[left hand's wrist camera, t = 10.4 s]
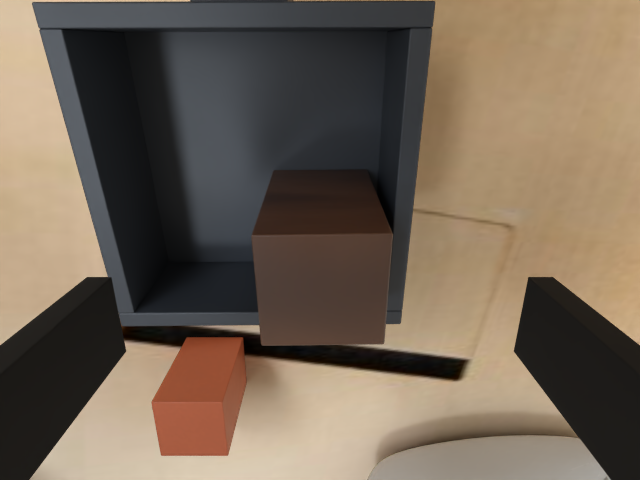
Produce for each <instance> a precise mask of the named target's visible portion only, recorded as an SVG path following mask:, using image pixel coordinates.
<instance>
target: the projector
mask: <svg viewBox="0 0 640 480" xmlns="http://www.w3.org/2000/svg"><path fill="white" fill-rule="evenodd" d="M368 480H611V479H610V478H609V477H608V475H607V474H606V473H605V471H604V470H603V469H602V467H601V466H600V465H599V463H598V462H597V461H596V459H595V458H594V457H593V455H592V454H591V453H590V451H589V450H588V449H587V447H586V446H585V445H584V444H583V442H582V441H581V440H580V438H574V437H564V436H545V435H515V436H493V437H482V438H471V439H463V440H455V441H448V442H442V443H436V444H431V445H425V446H420V447H416V448H412V449H408V450H404V451H401V452H398V453H395V454H393V455H391V456H388V457H386V458H385V459H383V460H382V461H380V462H379V463H378V464H377V465H376V466H375V467H374V469H373V470H372V472H371V473H370V475H369V477H368Z"/></svg>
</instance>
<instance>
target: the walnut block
mask: <svg viewBox="0 0 640 480" xmlns="http://www.w3.org/2000/svg"><path fill="white" fill-rule="evenodd" d="M251 240H252V251H253V261H254V272H255V283H256V293H257V304H258V315H259V325H260V336H261V344H262V345H263V346H271V345H355V344H384V340H385V327H386V315H387V302H388V290H389V278H390V265H391V253H392V240H393V234H392V231H391V229H390V226H389V224H388V221H387V218H386V216H385V213H384V211H383V208H382V206H381V203H380V201H379V198H378V196H377V193H376V191H375V188H374V186H373V183H372V181H371V178H370V176H369V173H368V171H367V170H366V169H347V170H274V171H273V173H272V176H271V179H270V182H269V185H268V188H267V191H266V194H265V197H264V200H263V203H262V206H261V209H260V212H259V214H258V217H257V220H256V223H255V226H254V229H253V232H252V235H251Z"/></svg>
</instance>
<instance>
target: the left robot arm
mask: <svg viewBox="0 0 640 480" xmlns="http://www.w3.org/2000/svg"><path fill="white" fill-rule="evenodd" d="M125 352H126V348H125V343H124V338H123V333H122V328H121V323H120V318H119V313H118V308H117V303H116V298H115V293H114V287H113V282H112V277H87V278H85V279H84V280H83V281H82V282H80V283H79V284H78V285H77V286H75V287H74V288H73V289H71V290H70V291H69V292H68V293H66V294H65V295H64V296H63V297H61V298H60V299H59V300H57V301H56V302H55V303H54V304H52V305H51V306H50V307H49V308H47V309H46V310H45V311H43V312H42V313H41V314H40V315H38V316H37V317H36V318H35V319H33V320H32V321H31V322H29V323H28V324H27V325H26V326H24V327H23V328H22V329H21V330H19V331H18V332H17V333H15V334H14V335H13V336H12V337H10V338H9V339H8V340H7V341H5V342H4V343H3V344H1V345H0V480H29V479H30V478H31V477H32V475H33V474H34V473H35V471H36V470H37V469H38V467H39V466H40V465H41V463H42V462H43V461H44V459H45V458H46V457H47V455H48V454H49V453H50V451H51V450H52V449H53V447H54V446H55V445H56V444H57V442H58V441H59V440H60V438H61V437H62V436H63V434H64V433H65V432H66V430H67V429H68V428H69V426H70V425H71V424H72V422H73V421H74V420H75V418H76V417H77V416H78V414H79V413H80V412H81V410H82V409H83V408H84V406H85V405H86V404H87V402H88V401H89V400H90V398H91V397H92V396H93V394H94V393H95V392H96V390H97V389H98V388H99V387H100V385H101V384H102V383H103V381H104V380H105V379H106V377H107V376H108V375H109V373H110V372H111V371H112V369H113V368H114V367H115V365H116V364H117V363H118V361H119V360H120V359H121V357H122V356H123V355H124V353H125ZM514 352H515V353H516V355H517V356H518V357H519V359H520V360H521V361H522V363H523V364H524V365H525V367H526V368H527V369H528V371H529V372H530V373H531V375H532V376H533V377H534V379H535V380H536V381H537V383H538V384H539V385H540V387H541V388H542V389H543V390H544V392H545V393H546V394H547V396H548V397H549V398H550V400H551V401H552V402H553V404H554V405H555V406H556V408H557V409H558V410H559V412H560V413H561V414H562V416H563V417H564V418H565V420H566V421H567V422H568V424H569V425H570V426H571V428H572V429H573V430H574V432H575V433H576V434H577V436H578V437H579V438H580V440H581V441H582V442H583V444H584V445H585V446H586V447H587V449H588V450H589V451H590V453H591V454H592V455H593V457H594V458H595V459H596V461H597V462H598V463H599V465H600V466H601V467H602V469H603V470H604V471H605V473H606V474H607V475H608V477H609V478H610V479H611V480H640V345H639V344H637V343H636V342H635V341H633V340H632V339H631V338H630V337H628V336H627V335H626V334H625V333H623V332H622V331H621V330H619V329H618V328H617V327H616V326H614V325H613V324H612V323H611V322H609V321H608V320H607V319H605V318H604V317H603V316H602V315H600V314H599V313H598V312H597V311H595V310H594V309H593V308H591V307H590V306H589V305H588V304H586V303H585V302H584V301H583V300H581V299H580V298H579V297H577V296H576V295H575V294H574V293H572V292H571V291H570V290H569V289H567V288H566V287H565V286H563V285H562V284H561V283H560V282H558V281H557V280H556V279H555V278H553V277H528V282H527V287H526V293H525V298H524V303H523V308H522V313H521V318H520V323H519V328H518V333H517V338H516V343H515V348H514Z"/></svg>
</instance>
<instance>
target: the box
mask: <svg viewBox="0 0 640 480" xmlns="http://www.w3.org/2000/svg"><path fill="white" fill-rule="evenodd" d="M190 1H191V2H33V3H32V5H33V9H34V12H35V16H36V20H37V23H38V27H39V28H40V30H39V31H40V34H41V38H42V42H43V45H44V49H45V52H46V56H47V60H48V63H49V67H50V70H51V74H52V77H53V81H54V85H55V88H56V92H57V95H58V99H59V103H60V106H61V110H62V113H63V117H64V121H65V124H66V128H67V131H68V135H69V139H70V142H71V146H72V149H73V153H74V157H75V160H76V164H77V167H78V171H79V175H80V178H81V182H82V185H83V189H84V192H85V196H86V200H87V203H88V207H89V210H90V214H91V218H92V221H93V225H94V228H95V232H96V236H97V239H98V243H99V246H100V250H101V254H102V257H103V261H104V264H105V268H106V272H107V275H108V277H112V282H113V287H114V293H115V298H116V303H117V308H118V313H119V317H120V321H121V324H122V326H199V325H259V315H258V304H257V293H256V283H255V272H254V261H253V251H252V240H251V235H252V232H253V229H254V226H255V223H256V220H257V217H258V214H259V212H260V209H261V206H262V203H263V200H264V197H265V194H266V191H267V188H268V185H269V182H270V179H271V176H272V173H273V171H274V170H347V169H366V170H367V171H368V173H369V176H370V178H371V181H372V183H373V186H374V188H375V191H376V193H377V196H378V198H379V201H380V203H381V206H382V208H383V211H384V213H385V216H386V218H387V221H388V224H389V226H390V229H391V231H392V234H393V240H392V253H391V265H390V278H389V290H388V302H387V315H386V324H400V323H401V316H402V307H403V298H404V289H405V279H406V270H407V261H408V251H409V242H410V233H411V223H412V214H413V205H414V195H415V186H416V177H417V167H418V158H419V149H420V139H421V130H422V121H423V111H424V102H425V93H426V83H427V74H428V64H429V55H430V46H431V36H432V28H431V27H432V26H433V19H434V10H435V1H293V0H190Z"/></svg>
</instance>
